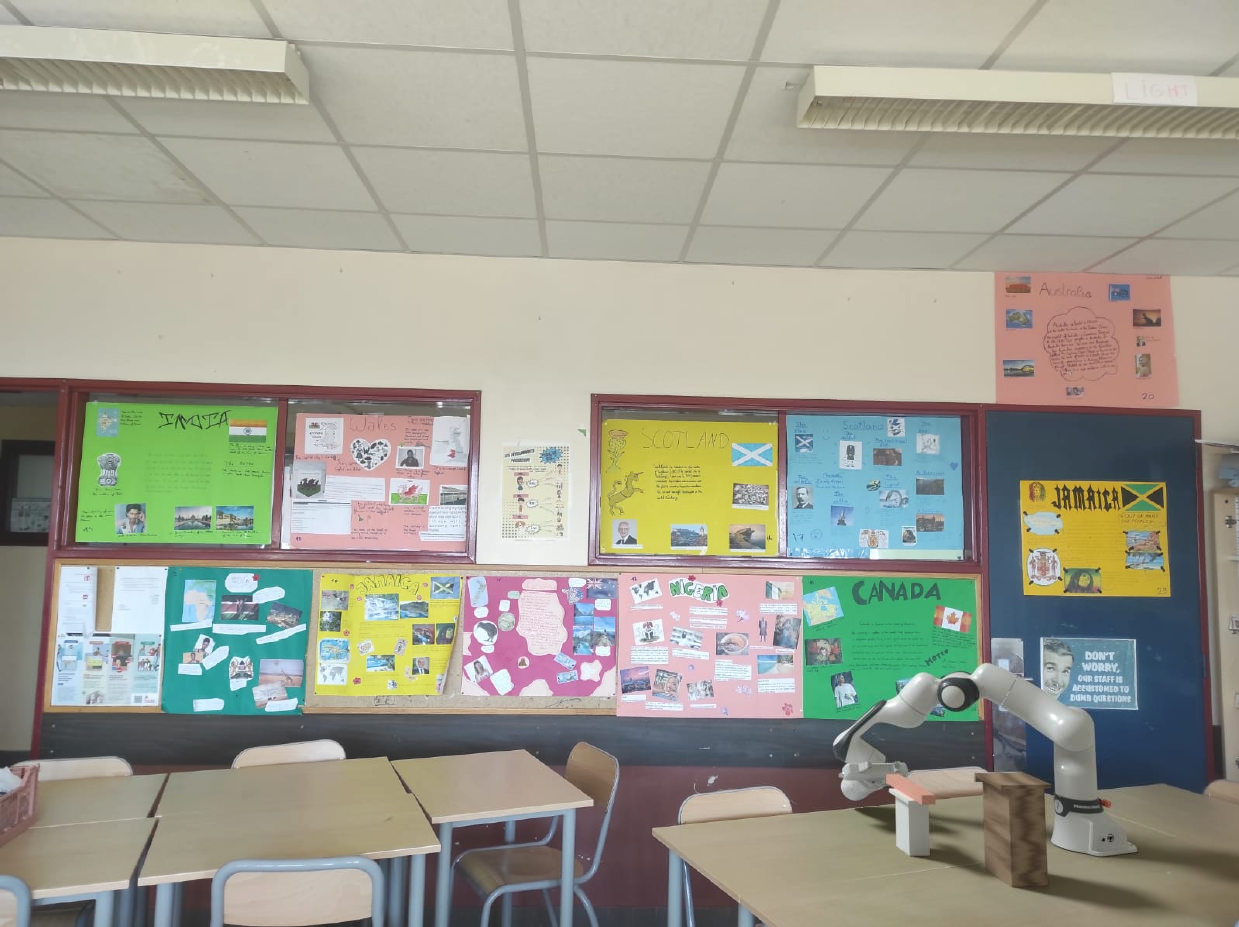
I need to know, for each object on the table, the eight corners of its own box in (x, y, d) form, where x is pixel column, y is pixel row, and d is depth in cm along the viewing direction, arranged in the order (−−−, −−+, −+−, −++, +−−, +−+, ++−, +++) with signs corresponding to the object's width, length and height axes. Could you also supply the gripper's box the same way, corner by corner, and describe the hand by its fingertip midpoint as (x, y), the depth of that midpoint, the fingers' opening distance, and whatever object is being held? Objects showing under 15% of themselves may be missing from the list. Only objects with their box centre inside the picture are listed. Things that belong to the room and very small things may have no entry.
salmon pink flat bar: (898, 782, 248) (898, 774, 248) (935, 804, 226) (935, 795, 226) (886, 782, 247) (886, 774, 248) (921, 804, 226) (921, 795, 226)
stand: (915, 843, 240) (914, 788, 242) (936, 857, 228) (935, 800, 230) (890, 843, 239) (888, 788, 241) (909, 858, 227) (908, 800, 229)
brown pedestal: (1025, 867, 223) (1021, 771, 226) (1055, 885, 210) (1051, 784, 213) (977, 868, 221) (974, 772, 224) (1004, 887, 209) (1001, 785, 211)
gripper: (834, 767, 265) (849, 754, 254) (894, 766, 267) (912, 753, 256) (838, 787, 261) (854, 775, 250) (899, 786, 264) (917, 774, 253)
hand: (884, 764), depth 253 cm, fingers open, 8 cm apart
